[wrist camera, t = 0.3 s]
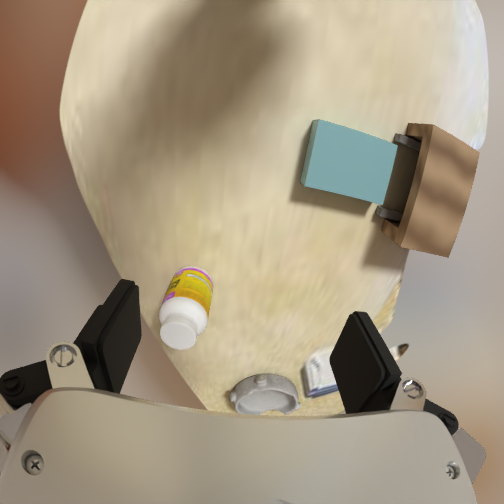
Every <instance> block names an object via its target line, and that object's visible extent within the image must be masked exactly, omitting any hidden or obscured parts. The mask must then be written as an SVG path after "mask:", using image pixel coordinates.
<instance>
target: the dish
mask: <svg viewBox="0 0 504 504" xmlns="http://www.w3.org/2000/svg"><path fill="white" fill-rule="evenodd" d="M229 399H230V401H231V402H233V403H234V407H235V410H236V411H237V412H238V413H239V414H249V415H260V414H261V413H263V412H265V411H267V410H278V411H280V412H283V413H284V414H285V415H286V414H289V413H291V412H293V411H294V410H298V409H299V408H300V403H299V402H298V393H297V390H296V387H295V385H294V384H293V383H292V381H290V380H289V379H287V378H285V377H283V376H279V375H273V374H260V375H255V376H252V377H249V378H246V379H244V380H243V381H241V382H240V383H238V384H237V385H236V387H235V389H234V392H231V393H230V397H229Z"/></svg>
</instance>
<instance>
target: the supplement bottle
mask: <svg viewBox="0 0 504 504" xmlns="http://www.w3.org/2000/svg"><path fill="white" fill-rule="evenodd" d="M212 293H213V281H212V279H211V277H210V275H209V274H208V273H207V272H206V271H205V270H203V269H201V268H199V267H195V266H187V267H183V268H181V269H180V270H178V271H177V272H176V273H175V275H174V277H173V279H172V282H171V284H170V286H169V288H168V291H167V293H166V296H165V298H164V301H163V303H162V305H161V308H160V311H159V320H160V323H161V325H162V326H161V329H160V337H161V339H162V340H163V342H164V343H165V344H167V345H168V346H169V347H171V348H174V349H178V350H186V349H189V348H191V347H193V346H194V344H195V343H196V340H197V336H199V335H200V334H201V333H202V332H203V331H204V330H205V328H206V326H207V321H208V315H209V310H210V304H211V298H212Z"/></svg>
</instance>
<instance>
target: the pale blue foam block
mask: <svg viewBox="0 0 504 504" xmlns="http://www.w3.org/2000/svg"><path fill="white" fill-rule="evenodd" d="M397 147H398V145H396V144H393V143H390V142H388V141H385V140H383V139H380V138H377V137H374V136H371V135H369V134H366V133H363V132H360V131H357V130H354V129H350V128H347V127H344V126H341V125H337V124H334V123H331V122H327V121H323V120H320V119H318V120H313V123H312V128H311V133H310V138H309V143H308V147H307V152H306V157H305V161H304V166H303V170H302V175H301V180H300V183H302V184H303V185H304V186H306V187H310V188H315V189H320V190H324V191H329V192H333V193H337V194H341V195H346V196H350V197H354V198H358V199H362V200H365V201H369V202H373V203H377V204H380V205H383V202H384V199H385V195H386V191H387V188H388V184H389V180H390V176H391V172H392V168H393V164H394V160H395V156H396V151H397Z"/></svg>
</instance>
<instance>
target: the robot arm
mask: <svg viewBox="0 0 504 504" xmlns="http://www.w3.org/2000/svg"><path fill="white" fill-rule="evenodd" d="M140 340H141V321H140V305H139V287H138V285H135V282H134V281H130V280H125V279H121V280H120V281H119V283H118V284H117V285H116V287H115V288H114V290H113V291H112V292H111V294H110V295H109V297H108V298H107V300H106V301H105V302H104V304H103V305H99V306H98V307H97V308H96V310H95V311H94V313H93V314H92V316H91V317H90V319H89V320H88V321H87V323H86V325H85V326H84V327H83V329H82V330H81V332H80V333H79V335H78V337H77V338H76V340H75V341H74V343H71V342H58V343H56V344H54V345H52V346H51V347H50V348H49V349H48V351H47V353H46V360H44V361H41V362H37V363H34V364H31V365H27V366H24V367H20V368H17V369H14V370H10V371H8V372H6V373H4V374H3V375H2V376H1V378H0V504H477V500H476V497H475V493H474V490H473V487H472V484H473V482H474V480H475V479H476V477H477V475H478V473H479V471H480V469H481V467H482V465H483V463H484V461H485V458H486V452H485V449H484V448H483V447H482V446H481V445H480V444H479V443H478V442H477V441H476V440H475V439H474V438H473V437H471V436H470V435H469V434H468V433H467V432H466V431H465V430H464V429H462V428H460V429H458V421H457V418H456V417H455V416H454V414H452V413H451V412H449V411H447V410H446V409H444V408H442V407H440V406H438V405H436V404H434V403H433V402H430V401H429V400H427V399H426V390H425V388H424V386H423V385H422V384H421V383H420V382H419V381H418V380H416V379H414V378H408V377H407V378H404V379H402V380H401V378H400V376H401V374H402V373H401V371H400V369H399V367H398V365H397V364H396V362H395V360H394V358H393V356H392V355H391V353H390V351H389V349H388V347H387V346H386V344H385V342H384V341H383V339H382V337H381V335H380V334H379V332H378V330H377V329H376V327H375V325H374V323H373V322H372V320H371V318H370V317H369V315H368V314H367V312H358V311H355V312H353V314H350V315H349V317H348V319H347V321H346V324H345V326H344V328H343V330H342V332H341V335H340V337H339V339H338V341H337V343H336V345H335V347H334V349H333V351H332V353H331V355H330V365H331V368H332V371H333V374H334V377H335V380H336V383H337V386H338V389H339V392H340V395H341V399H342V402H343V405H344V408H345V411H346V414H338V415H319V416H268V415H249V414H236V413H225V412H216V411H207V410H199V409H193V408H186V407H180V406H174V405H169V404H164V403H158V402H153V401H148V400H144V399H139V398H135V397H131V396H126V395H122V394H120V391H121V388H122V386H123V383H124V380H125V378H126V375H127V372H128V370H129V367H130V365H131V362H132V360H133V357H134V354H135V352H136V350H137V347H138V345H139V342H140Z"/></svg>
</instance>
